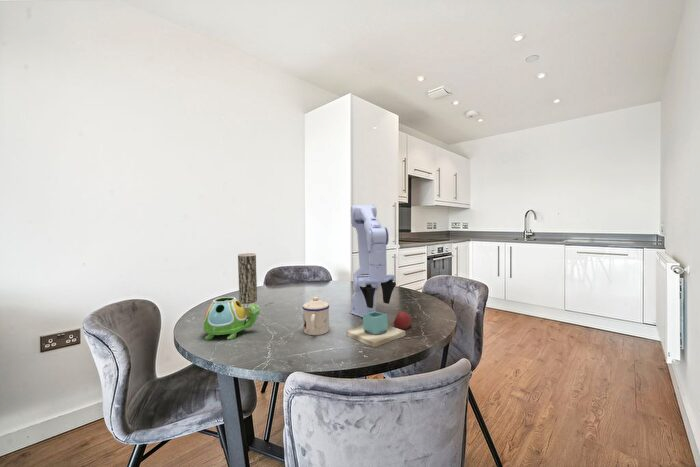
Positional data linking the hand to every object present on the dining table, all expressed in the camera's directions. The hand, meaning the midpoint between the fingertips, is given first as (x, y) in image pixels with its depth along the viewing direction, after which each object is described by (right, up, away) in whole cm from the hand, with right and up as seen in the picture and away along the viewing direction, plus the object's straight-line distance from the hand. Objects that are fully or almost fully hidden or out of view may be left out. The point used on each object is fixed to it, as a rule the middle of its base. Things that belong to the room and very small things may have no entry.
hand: (378, 305), depth 99 cm
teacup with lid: (-21, -10, +2) cm, 23 cm away
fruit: (+10, -9, +5) cm, 15 cm away
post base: (-1, -9, -2) cm, 10 cm away
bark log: (-50, -10, +22) cm, 56 cm away
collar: (-1, -8, -2) cm, 8 cm away
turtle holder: (-50, -10, +3) cm, 51 cm away
